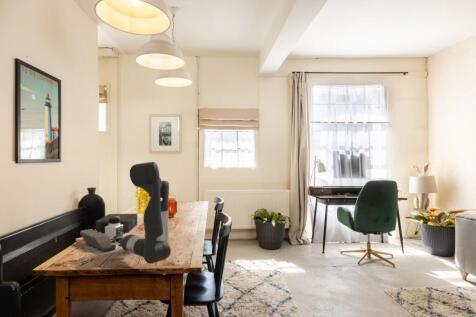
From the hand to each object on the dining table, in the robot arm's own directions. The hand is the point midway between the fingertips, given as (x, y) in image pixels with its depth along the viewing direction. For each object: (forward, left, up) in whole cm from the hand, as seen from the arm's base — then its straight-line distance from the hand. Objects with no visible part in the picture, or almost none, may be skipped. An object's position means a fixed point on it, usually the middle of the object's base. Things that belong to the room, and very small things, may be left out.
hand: (115, 237), depth 141 cm
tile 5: (+16, -19, -6) cm, 26 cm away
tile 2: (+7, -8, -6) cm, 12 cm away
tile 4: (+13, -16, -6) cm, 21 cm away
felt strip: (+9, -11, -8) cm, 16 cm away
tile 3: (+10, -12, -6) cm, 17 cm away
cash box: (+10, -56, -8) cm, 57 cm away
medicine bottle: (+7, -31, -8) cm, 33 cm away
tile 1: (+3, -4, -6) cm, 9 cm away
